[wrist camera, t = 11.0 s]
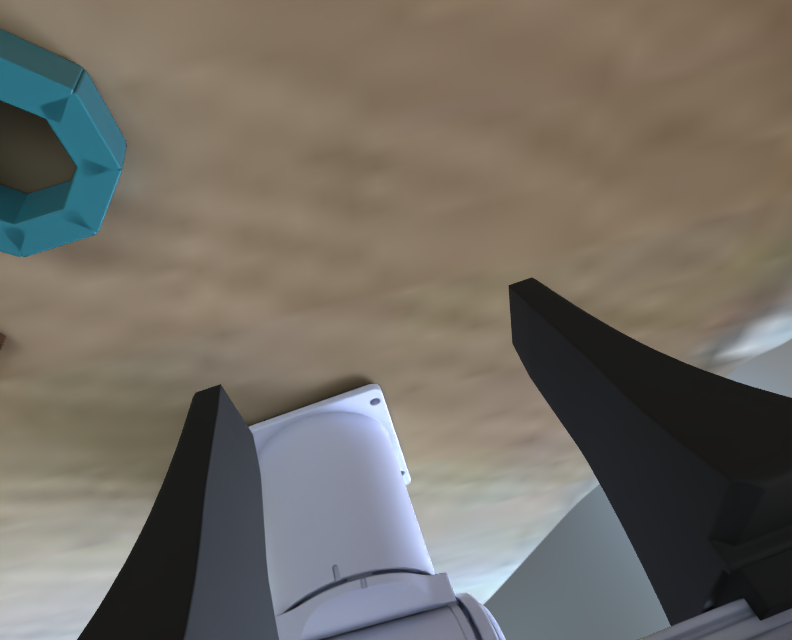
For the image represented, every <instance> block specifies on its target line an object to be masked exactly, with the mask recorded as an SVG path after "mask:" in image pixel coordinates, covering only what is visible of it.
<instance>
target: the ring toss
mask: <svg viewBox="0 0 792 640" xmlns="http://www.w3.org/2000/svg"><path fill="white" fill-rule="evenodd" d="M5 337H6V336H5V335H4V334H2V333H0V350H1V348H2V346H3V343H4V340H5Z"/></svg>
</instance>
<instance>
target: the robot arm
mask: <svg viewBox="0 0 792 640" xmlns="http://www.w3.org/2000/svg"><path fill="white" fill-rule="evenodd" d="M509 299H510V313H511V328H512V343H513V345H514V347H515V349H516V351H517V353H518V355H519V357H520V359H521V361H522V363H523V365H524V367H525V369H526V370H527V372H528V374H529V376H530V378H531V379H532V381H533V382H534V384H535V385H536V387H537V388H538V390H539V391H540V392H541V394H542V395H543V397H544V398H545V400H546V401H547V403H548V404H549V405H550V407H551V408H552V410H553V411H554V413H555V414H556V416H557V417H558V418H559V420H560V421H561V423H562V424H563V426H564V427H565V428H566V430H567V431H568V433H569V434H570V436H571V437H572V438H573V440H574V441H575V443H576V444H577V446H578V447H579V449H580V450H581V452H582V454H583V455H584V457H585V458H586V460H587V461H588V463H589V465H590V467H591V469H592V470H593V472H594V474H595V476H596V478H597V479H598V481H599V483H600V485H601V487H602V488H603V490H604V492H605V494H606V496H607V497H608V500H609V501H610V503H611V505H612V507H613V509H614V511H615V513H616V515H617V516H618V518H619V520H620V522H621V524H622V526H623V528H624V530H625V531H626V534H627V536H628V538H629V540H630V542H631V544H632V545H633V548H634V550H635V551H636V554H637V556H638V558H639V560H640V562H641V564H642V565H643V568H644V570H645V572H646V574H647V576H648V578H649V580H650V582H651V584H652V586H653V589H654V591H655V593H656V595H657V597H658V599H659V601H660V603H661V605H662V608H663V610H664V612H665V614H666V616H667V618H668V621H669V623H670V625H671V627H668V628H666V629H663V630H661V631H658V632H656V633H653V634H651V635H648V636H646V637H643V638H641V639H639V640H792V398H790V397H786V396H783V395H779V394H776V393H772V392H769V391H765V390H762V389H758V388H754V387H751V386H748V385H745V384H742V383H738V382H735V381H733V380H730V379H727V378H724V377H721V376H718V375H716V374H713V373H710V372H707V371H704V370H702V369H699V368H696V367H694V366H691V365H689V364H686V363H684V362H681V361H679V360H677V359H675V358H672V357H670V356H668V355H665V354H663V353H661V352H659V351H656V350H654V349H652V348H650V347H648V346H646V345H644V344H642V343H640V342H638V341H636V340H634V339H632V338H631V337H629V336H627V335H625V334H623V333H621V332H619V331H618V330H616V329H614V328H612V327H610V326H609V325H607V324H605V323H604V322H602V321H600V320H598V319H597V318H595V317H593V316H592V315H590V314H588V313H587V312H585V311H583V310H582V309H580V308H579V307H577V306H575V305H574V304H572V303H571V302H569V301H568V300H566V299H565V298H563V297H561V296H560V295H558V294H557V293H555V292H554V291H552V290H551V289H549V288H548V287H546V286H545V285H543V284H542V283H540V282H539V281H537V280H536V279H534V278H529V279H526V280H523V281H520V282H517V283H514V284H511V285H509ZM374 398H376V399H374ZM372 399H373V400H372ZM410 481H411V478H410V475H409V472H408V469H407V466H406V463H405V460H404V457H403V454H402V451H401V448H400V445H399V442H398V439H397V436H396V433H395V430H394V427H393V424H392V421H391V418H390V415H389V412H388V409H387V406H386V403H385V400H384V397H383V394H382V391H381V388H380V386H379V385H377V384H368V385H366V386H363V387H360V388H357V389H354V390H351V391H348V392H346V393H343V394H340V395H337V396H334V397H331V398H328V399H326V400H323V401H320V402H317V403H314V404H311V405H308V406H306V407H303V408H300V409H297V410H294V411H291V412H288V413H286V414H283V415H280V416H277V417H274V418H271V419H268V420H266V421H263V422H260V423H257V424H254V425H251V426H247V424H246V423H245V421H244V420H243V418H242V416H241V415H240V413H239V412H238V410H237V409H236V407H235V406H234V404H233V402H232V401H231V399H230V398H229V396H228V395H227V393H226V391H225V390H224V388H223V387H222V385H221V384H220V385H217V386H214V387H211V388H208V389H205V390H202V391H199V392H196V393H195V395H194V396H193V399H192V402H191V405H190V408H189V411H188V415H187V418H186V421H185V424H184V427H183V430H182V433H181V436H180V439H179V442H178V445H177V447H176V450H175V453H174V455H173V458H172V461H171V463H170V466H169V469H168V471H167V474H166V477H165V479H164V482H163V484H162V487H161V489H160V491H159V493H158V496H157V498H156V500H155V503H154V505H153V507H152V510H151V512H150V514H149V516H148V519H147V521H146V523H145V525H144V527H143V529H142V531H141V533H140V535H139V537H138V539H137V541H136V543H135V545H134V547H133V549H132V551H131V553H130V554H129V556H128V558H127V560H126V562H125V564H124V566H123V567H122V569H121V571H120V572H119V574H118V576H117V578H116V579H115V581H114V583H113V584H112V586H111V588H110V590H109V591H108V593H107V595H106V596H105V598H104V600H103V601H102V603H101V604H100V606H99V608H98V609H97V611H96V612H95V614H94V615H93V617H92V618H91V620H90V621H89V623H88V624H87V626H86V627H85V629H84V630H83V632H82V633H81V635H80V636H79V638H78V639H77V640H506V639H505V637H504V635H503V633H502V631H501V629H500V627H499V625H498V623H497V622H496V620H495V618H494V617H493V616H492V614H491V613H490V612H489V610H488V609H487V608H485V607H484V606H483V605H482V604H480V603H479V602H478V601H477V600H476V599H475V598H474V597H473V596H471V595H470V594H468V593H460V594H456V595H455V594H454V591H453V588H452V586H451V583H450V580H449V577H448V574H447V573H440V574H435V572H434V569H433V566H432V563H431V560H430V557H429V554H428V551H427V548H426V545H425V542H424V539H423V536H422V533H421V530H420V527H419V524H418V521H417V518H416V515H415V512H414V509H413V506H412V503H411V500H410V498H409V495H408V492H407V489H406V485H408V484H409V483H410Z"/></svg>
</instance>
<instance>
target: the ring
mask: <svg viewBox="0 0 792 640" xmlns="http://www.w3.org/2000/svg"><path fill="white" fill-rule="evenodd" d="M0 100H1V101H3V102H6V103H8V104H11V105H13V106H16V107H18V108H20V109H23V110H25V111H28V112H30V113H33V114H35V115H38V116H40V117H43V118H45V119H46V120H47V122H48V124H49V125H50V127H51V128H52V130H53V131H54V133H55V134H56V136H57V137H58V139H59V141H60V142H61V144H62V145H63V147H64V148H65V150H66V151H67V153H68V154H69V156H70V157H71V159H72V161H73V162H74V164H75V165H76V170H75V173H74V176H73V178H72V180H70V181H67V182H64V183H61V184H58V185H54V186H51V187H48V188H45V189H41V190H38V191H35V192H32V193H29V194H26V193H23V192H20V191H17V190H14V189H12V188H9V187H6V186H3V185H0V251H1V252H4V253H8V254H11V255H15V256H18V257H21V256H23V257H27V256H30V255H33V254H36V253H39V252H42V251H46V250H49V249H52V248H55V247H58V246H61V245H64V244H68V243H71V242H74V241H77V240H80V239H83V238H86V237H89V236H93V235H95V234H96V233H97V232H99V230H100V227H101V225H102V222H103V219H104V217H105V214H106V211H107V209H108V206H109V204H110V201H111V198H112V196H113V193H114V190H115V188H116V185H117V183H118V180H119V177H120V175H121V172H122V167H123V162H124V157H125V152H126V147H127V146H126V140H125V138H124V137H123V135H122V133H121V131H120V130H119V128H118V126H117V124H116V122H115V121H114V119H113V117H112V115H111V114H110V112H109V110H108V108H107V106H106V105H105V103H104V101H103V99H102V98H101V96H100V94H99V92H98V90H97V89H96V87H95V85H94V83H93V82H92V80H91V78H90V76H89V74H88V73H87V71H86V70H83V67H81V66H79V65H77V64H75V63H73V62H71V61H69V60H66V59H64V58H62V57H60V56H58V55H56V54H54V53H51V52H49V51H47V50H45V49H43V48H41V47H38V46H36V45H34V44H32V43H30V42H28V41H26V40H23V39H21V38H19V37H17V36H15V35H13V34H11V33H8V32H6V31H4V30H2V29H0Z"/></svg>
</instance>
